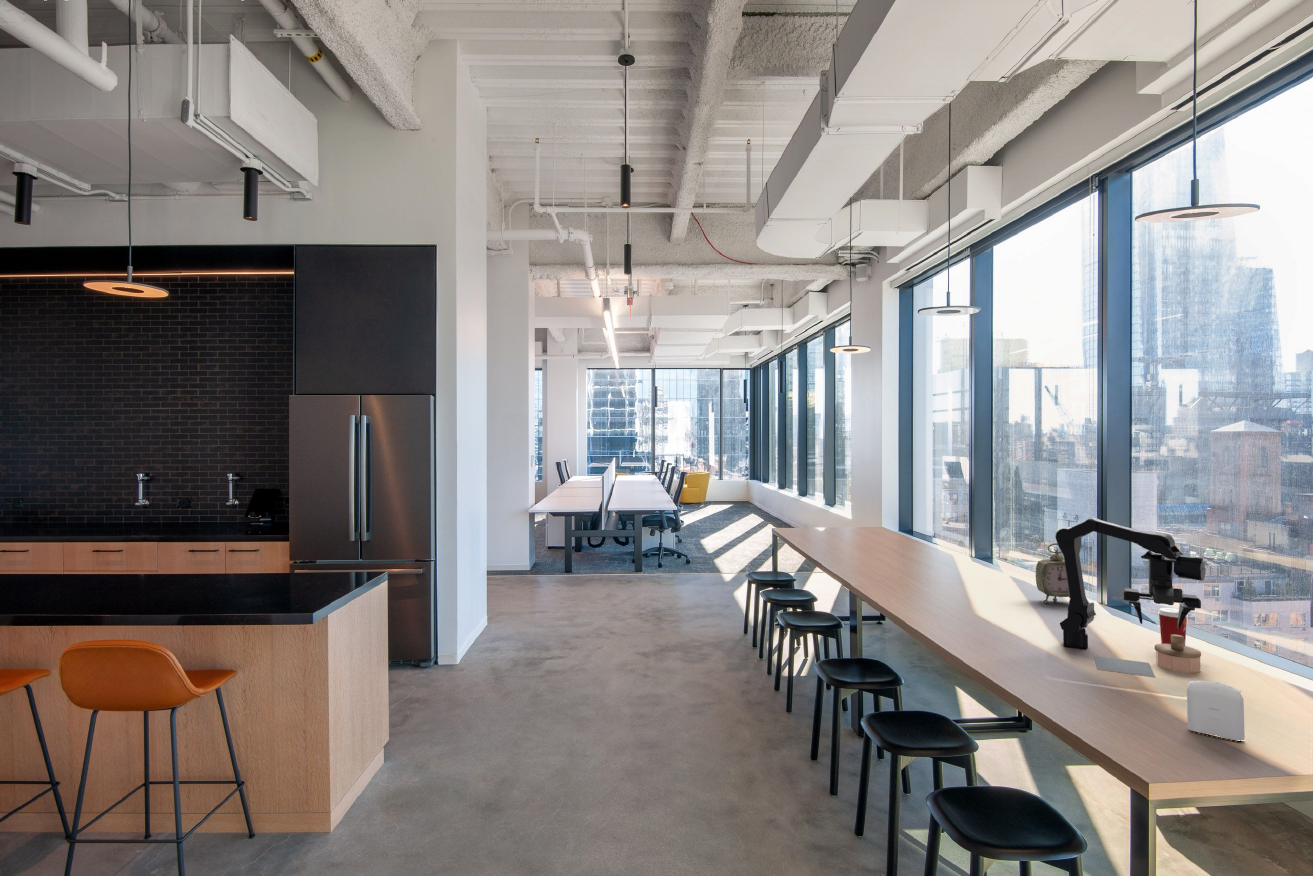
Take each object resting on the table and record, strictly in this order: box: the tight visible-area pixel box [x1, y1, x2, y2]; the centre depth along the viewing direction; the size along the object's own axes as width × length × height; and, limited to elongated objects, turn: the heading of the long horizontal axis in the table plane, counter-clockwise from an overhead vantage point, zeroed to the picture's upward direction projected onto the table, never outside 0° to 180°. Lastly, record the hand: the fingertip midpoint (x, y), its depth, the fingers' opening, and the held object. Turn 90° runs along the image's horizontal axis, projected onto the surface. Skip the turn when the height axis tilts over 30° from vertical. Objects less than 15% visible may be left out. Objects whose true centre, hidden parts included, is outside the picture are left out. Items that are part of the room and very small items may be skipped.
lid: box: [1154, 635, 1202, 658], centre depth 199 cm, size 11×11×5 cm
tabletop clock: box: [1035, 542, 1070, 604], centre depth 279 cm, size 14×9×25 cm, turn 81°
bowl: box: [1155, 650, 1201, 674], centre depth 199 cm, size 10×10×5 cm
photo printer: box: [1186, 680, 1246, 741], centre depth 155 cm, size 10×4×12 cm, turn 47°
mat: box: [1094, 655, 1156, 678], centre depth 200 cm, size 14×14×1 cm
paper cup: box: [1157, 607, 1189, 646], centre depth 213 cm, size 8×8×14 cm
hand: (1159, 626), depth 202 cm, fingers open, 9 cm apart
